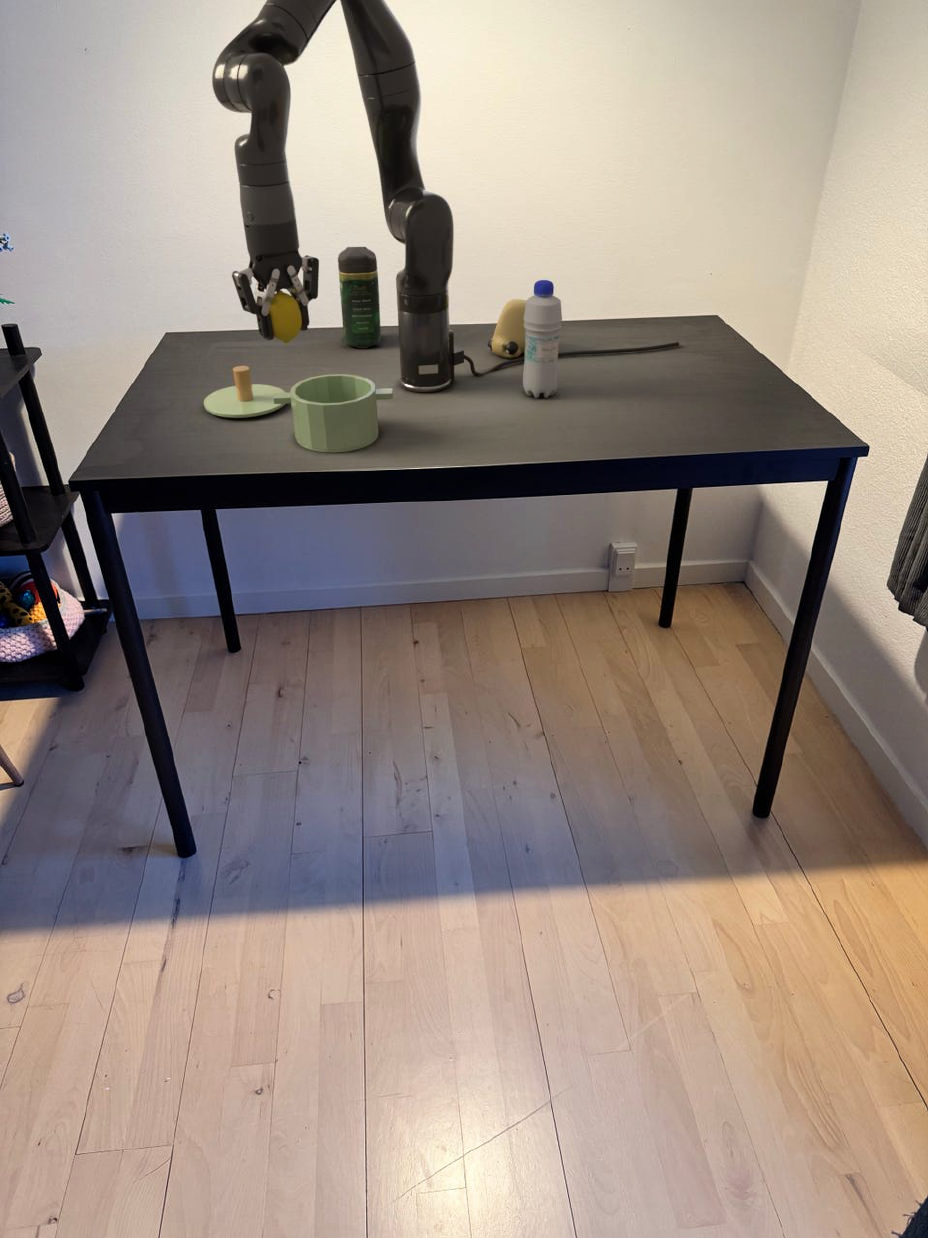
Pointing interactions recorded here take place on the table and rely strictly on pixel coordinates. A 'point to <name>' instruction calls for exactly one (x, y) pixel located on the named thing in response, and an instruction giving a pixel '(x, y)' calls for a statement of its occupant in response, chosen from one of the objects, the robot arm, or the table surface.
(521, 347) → the beige curved piece
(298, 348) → the table surface
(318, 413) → the pot
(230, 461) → the table surface
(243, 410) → the lid
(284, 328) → the lemon
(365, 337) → the coffee jar
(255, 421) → the table surface
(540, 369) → the bottle
